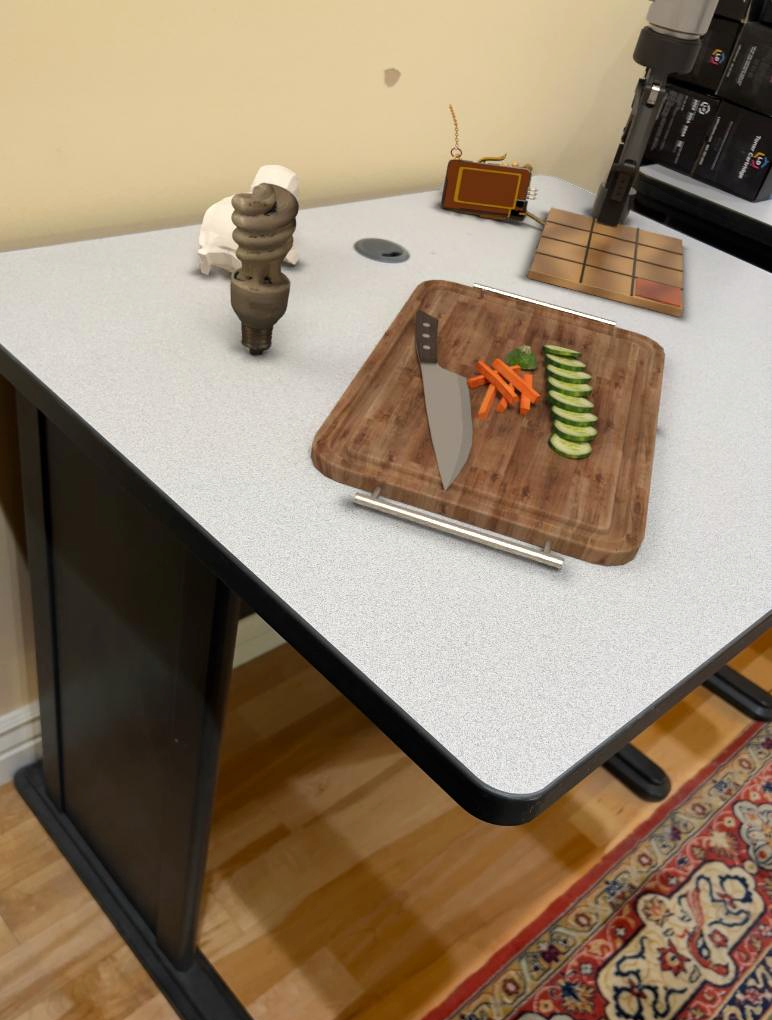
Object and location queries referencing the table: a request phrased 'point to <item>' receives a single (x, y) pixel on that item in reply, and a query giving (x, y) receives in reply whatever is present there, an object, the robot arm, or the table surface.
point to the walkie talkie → (488, 187)
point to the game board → (610, 262)
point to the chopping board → (504, 423)
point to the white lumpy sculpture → (219, 226)
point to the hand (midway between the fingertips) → (609, 208)
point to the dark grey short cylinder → (601, 197)
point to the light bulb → (261, 261)
